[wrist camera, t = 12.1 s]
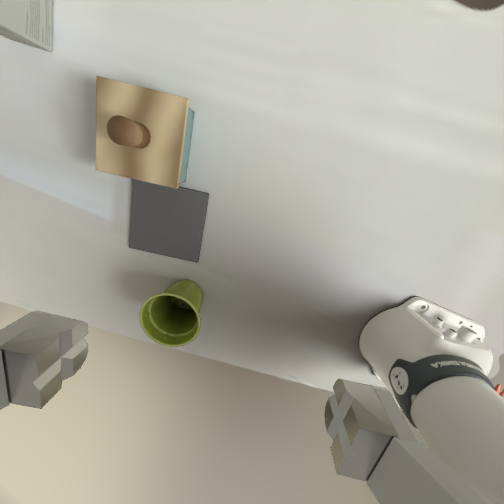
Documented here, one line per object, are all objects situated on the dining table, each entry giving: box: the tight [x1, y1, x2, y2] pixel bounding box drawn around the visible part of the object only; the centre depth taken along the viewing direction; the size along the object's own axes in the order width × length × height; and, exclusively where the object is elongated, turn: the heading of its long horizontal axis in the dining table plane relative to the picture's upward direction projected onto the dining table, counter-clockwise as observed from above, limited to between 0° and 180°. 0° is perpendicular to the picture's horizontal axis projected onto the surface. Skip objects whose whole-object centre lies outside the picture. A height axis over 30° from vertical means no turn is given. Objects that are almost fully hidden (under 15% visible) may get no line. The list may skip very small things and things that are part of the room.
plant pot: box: [140, 280, 203, 347], centre depth 41 cm, size 9×9×9 cm
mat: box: [129, 179, 209, 262], centre depth 40 cm, size 12×12×1 cm
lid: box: [96, 76, 189, 189], centre depth 29 cm, size 11×11×5 cm
